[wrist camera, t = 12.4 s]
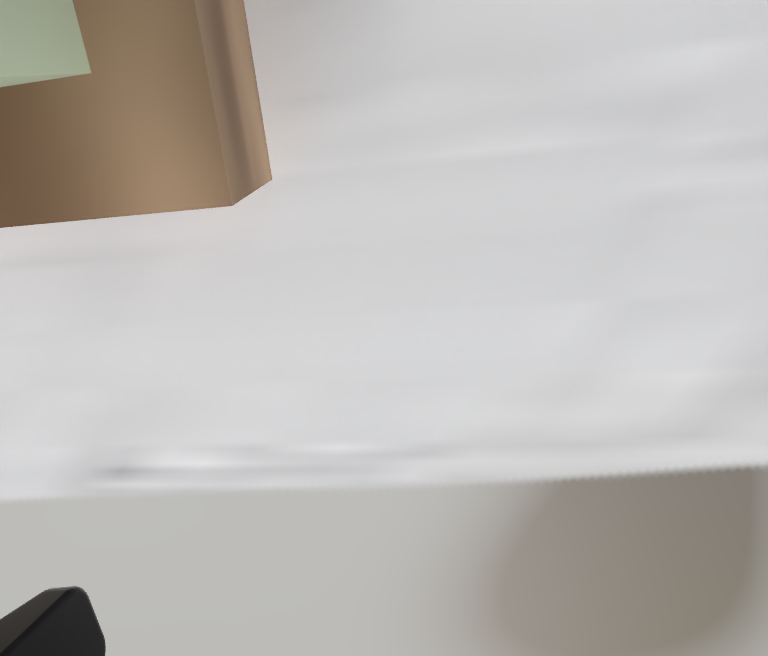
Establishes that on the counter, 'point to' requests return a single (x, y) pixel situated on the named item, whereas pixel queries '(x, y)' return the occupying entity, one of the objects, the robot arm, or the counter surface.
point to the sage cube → (40, 41)
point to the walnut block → (138, 118)
